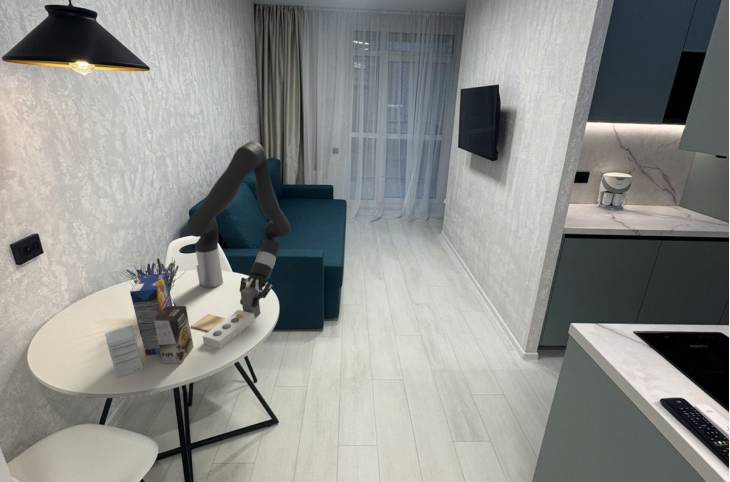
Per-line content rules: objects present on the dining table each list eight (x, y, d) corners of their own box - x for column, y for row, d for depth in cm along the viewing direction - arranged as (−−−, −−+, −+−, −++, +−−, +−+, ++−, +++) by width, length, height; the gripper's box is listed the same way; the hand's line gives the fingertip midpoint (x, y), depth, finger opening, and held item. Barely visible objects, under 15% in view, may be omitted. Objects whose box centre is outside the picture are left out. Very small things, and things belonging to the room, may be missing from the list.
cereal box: (155, 335, 138) (141, 275, 129) (178, 333, 139) (165, 273, 131) (145, 356, 127) (129, 291, 118) (170, 353, 128) (156, 289, 120)
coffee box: (182, 363, 123) (173, 320, 117) (162, 363, 123) (152, 320, 117) (194, 346, 132) (186, 305, 126) (176, 346, 132) (167, 305, 126)
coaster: (191, 327, 143) (190, 325, 142) (208, 315, 150) (208, 314, 150) (209, 332, 139) (209, 331, 139) (226, 319, 147) (226, 318, 147)
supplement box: (114, 365, 122) (105, 332, 118) (141, 357, 126) (132, 324, 122) (116, 379, 117) (106, 344, 112) (144, 369, 121) (135, 335, 116)
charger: (240, 319, 148) (236, 293, 144) (251, 310, 153) (248, 286, 149) (249, 321, 146) (246, 296, 142) (260, 313, 152) (257, 288, 148)
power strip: (203, 343, 133) (202, 334, 132) (239, 316, 149) (238, 308, 148) (220, 348, 130) (219, 339, 129) (254, 320, 146) (253, 312, 145)
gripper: (244, 258, 153) (227, 299, 146) (274, 264, 147) (257, 306, 141) (254, 265, 159) (238, 305, 153) (283, 271, 154) (267, 312, 148)
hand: (247, 305), depth 147 cm, fingers closed on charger, 4 cm apart
